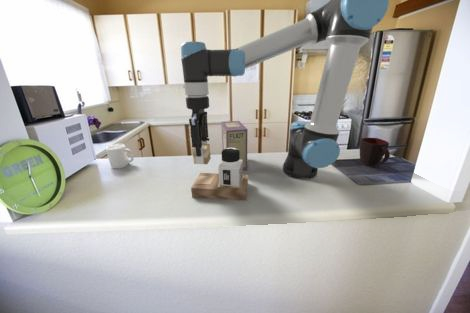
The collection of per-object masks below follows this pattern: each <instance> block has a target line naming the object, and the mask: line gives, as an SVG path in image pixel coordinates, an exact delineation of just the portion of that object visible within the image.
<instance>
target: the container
mask: <svg viewBox="0 0 470 313" xmlns="http://www.w3.org/2000/svg"><path fill="white" fill-rule="evenodd" d="M217 168H218V174H219V185H222V186H234V187H240V184H241V181H242V177H243V175H244V174H243V172H244V171H243V160H240V151H239V150H238V149H236V148H226V149H224V150H223V149H222V150H221V162H220V164H219V165H218V167H217Z"/></svg>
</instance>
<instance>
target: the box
mask: <svg viewBox="0 0 470 313" xmlns="http://www.w3.org/2000/svg"><path fill="white" fill-rule="evenodd" d="M220 125H221V141H222V142H221V143H222V150H224V149H226V148H236V149H238V150H239V151H240V160H243V172H248V130H249V129H248V128H247V127H246V126H245V125H244V124H243V123H242V122H241V121H240V120H231V121H221V124H220Z"/></svg>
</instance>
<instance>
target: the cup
mask: <svg viewBox="0 0 470 313" xmlns="http://www.w3.org/2000/svg"><path fill="white" fill-rule="evenodd" d="M105 151H106V155H107V157H108V161H109V164H110V167H111V168H112V169H122V168H125V167H127V166H128V165H129V164H130V163H132V162H133V161H134V154H133V151H132V150H131V149H129V148H127V147H126V145H125V144H124V143H115V144H110V145H108V146H106V147H105ZM128 152H129V154H130V159H129V157H128Z"/></svg>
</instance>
